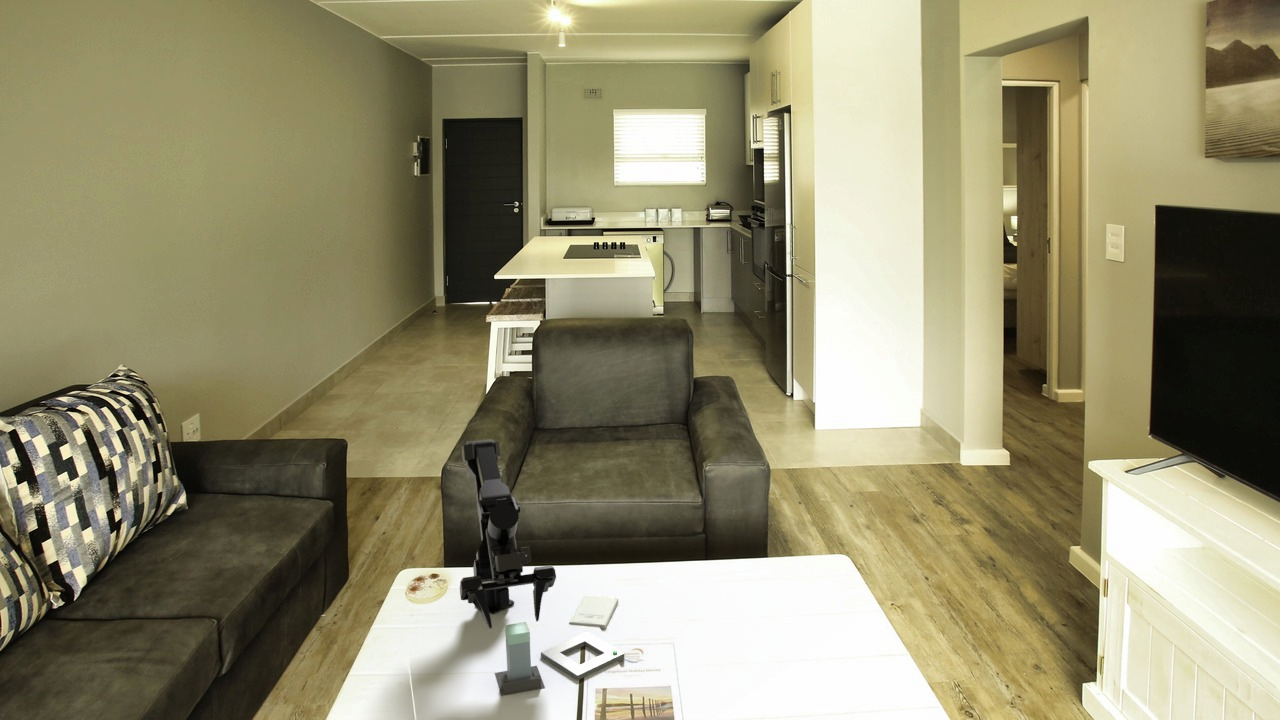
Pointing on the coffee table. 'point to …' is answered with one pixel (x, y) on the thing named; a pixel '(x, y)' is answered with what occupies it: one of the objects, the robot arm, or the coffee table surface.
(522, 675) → the plug
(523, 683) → the corner stop plate
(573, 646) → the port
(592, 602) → the external hard drive
